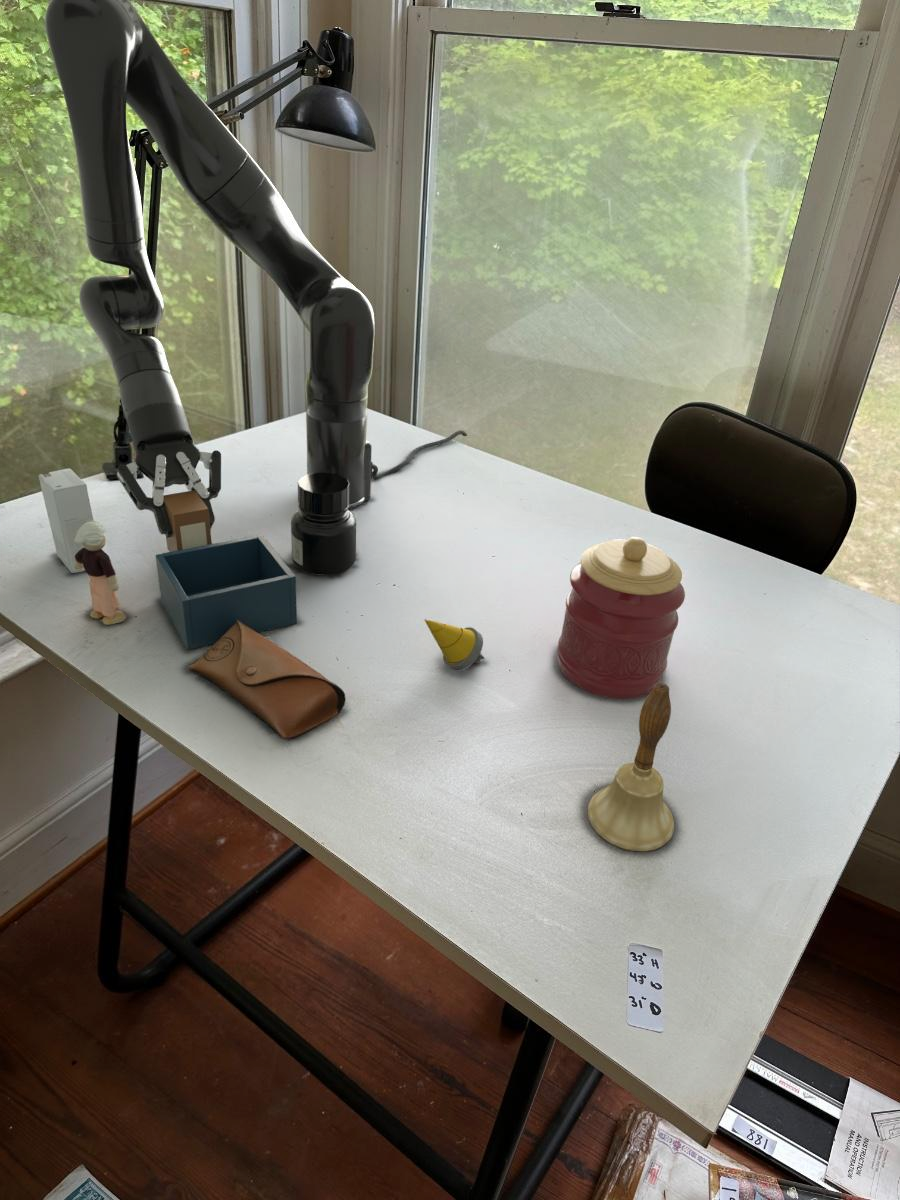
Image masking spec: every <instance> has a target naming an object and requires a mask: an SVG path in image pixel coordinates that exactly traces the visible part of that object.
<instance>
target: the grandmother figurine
mask: <svg viewBox="0 0 900 1200" xmlns="http://www.w3.org/2000/svg"><path fill="white" fill-rule="evenodd" d="M74 541H75V542H76V543H78V544H83V546H84V548H82V549H81V550H79V551H78V552H77V553H76V554H75V559H76V561H75V562H76V563H75V567H76V568H77V569H82V568H83V567H84V569H85V571H84V572H85V574H86V575H87V577H88V581H89V582H88V585H89V592H90V597H91V603H92V608H93V610H91V612H90V613H89V616H90V617H91V618H92V619H101V618H102V620H101V622H102V624H103V625H106V626H107V625H109V626H111V625H114V624H119V623H122V622H124V621H126V619H127V615H126V614H125V613H124V611H121V610H117V609H118V608H119V606H120V603H119V599H118V596H117V591H119V590H120V585H119V583H118V579H117V575H116V571H115V569H114V566H113V564H112V561H111V557H110V556H109V554H107V552H105V551H104V550H103V548H104V547H105V545H106V542H107V541H106V536H105V528H104V526H103V524H102V523H101V522H99V521H98V520H93V521H90V522H87V523H85V524H84V525H82V526H81V527H80V529H79V530H78V532H77V535H76V537H75V540H74Z"/></svg>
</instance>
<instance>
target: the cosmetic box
mask: <svg viewBox="0 0 900 1200" xmlns="http://www.w3.org/2000/svg"><path fill="white" fill-rule="evenodd" d="M38 479H39V484H40V488H41V493H42V497H43V501H44V506H45V509H46V513H47V518H48V522H49V527H50V531H51V534H52V535H51V536H52V539H53V543H54V548H55V552H56V556H57V557H58V558H59V559H60V561H61V562H62V563H63V564H64V565H65V567H66V568H67V569H68V571H69V572H70V573H71V574H76V573H82V572H85V569H84V567H83V568H82V569H77V568H76V567H75V563H76V562H75V561H76V559H75V554H76V553H77V552H78V551H79V550H81V549H82V548H84V546H83V544H78V543H76V542H75V541H74V540H75V537H76V535H77V532H78V530H79V529H80V527H81V526H82V525H84V524H85V523H87V522H90V521H94V517H93V511H92V506H91V502H90V497H89V491H88V486H87V483H86V482H85V481H83V479H81V477H80V476H79V475H78V474H76V473H75V472H74V471H73V469H71V467H69V468H63V469H59V470H55V471H54V470H53V471H49V472H44V473H40V474H38Z"/></svg>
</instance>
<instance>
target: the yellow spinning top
mask: <svg viewBox="0 0 900 1200" xmlns="http://www.w3.org/2000/svg"><path fill="white" fill-rule="evenodd" d="M424 622H425V624H426V627H428V630H429V632H430V633H431V635H432V637H433V638H434V640H435V642H436V644H437V645H438V648H439V649H440V651H441V653H442V655H443V657H442V659H443V662H444V664H445V665H446V666H447V667H448V668H450V669H451V670H453V671H455V672H460V671H464V670H466V669H467V668H470V667H471V665H473V664H474V663H475V664H476V663H477V664H481V663H482V662H481V660H484V659H486V658H485V656H484V655H483V654H482V650H483V646H484V638H483V635H482V634H481V632H479V631H477V629H475V628H474V627H469V626H467V627H464V628H462V627H460V626H459V627H458V626H455V625H451V624H447V623H443V622H439V621H435V620H430V619H427V618H425V619H424Z"/></svg>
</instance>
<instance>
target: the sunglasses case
mask: <svg viewBox="0 0 900 1200" xmlns="http://www.w3.org/2000/svg"><path fill="white" fill-rule="evenodd" d="M187 668H188V669H189V671H191V672H194V673H195V674H197V675H199V676H201V677H203V678H204V679H206V680H207V681H209V682H211V683H212V684H213V685H215V686H216V687H218V688H219V689H221V690H222V691H224V692H225V693H226V694H228V695H229V696H230V697H231V698H233V699H234V700H236V701H237V702H238V703H240V704H241V705H242V706H243V707H245V708H246V709H247V710H249V711H250V712H251V713H252V714H254V715H255V716H256V717H257V718H258V719H260V721H262V722H263V723H265V724H266V725H267V726H268V727H269V728H270V729H271V730H273V731H274V732H275V733H276V734H277V735H279V736H280V737H281V738H283V739H294V738H296V737H299V736H301V735H303V734H306V733H308V732H310V731H312V730H314V729H315V728H318V727H319V726H321V725H323V724H325V723H326V722H328V721H330V720H331V719H333V718H335V717H337V716H338V715H339V714H340V713H341V711H342V710H343V708H344V707H345V703H346V694H345V691H344V690H343V689H342V688H341V687H340V686H339V685H337V684H336V683H334V682H332V681H330V680H329V679H328V678H327V677H325V676H324V675H322V674H321V673H320V672H318V671H317V670H316V669H314V668H312V667H311V666H310V665H308V664H307V663H306V662H304V661H303V660H301V659H299V658H298V657H297V656H295V655H294V654H292V653H290V652H289V651H288V650H286V649H284V648H283V647H281V646H280V645H278V644H277V643H275V642H274V641H272V640H271V639H268V637H266V636H264V635H262V634H261V633H260V632H259V633H257V632H256V631H254V630H252V629H250V628H249V627H247V626H246V625H244V624H243V623H241V622H240V621H239V620H236V623H235V624H234V625H233V626H232V627H231V628H230V629H229V630H228V631H227V632H226V633H225V634H224V635H223V636H222V637H221V638H220V639H219V640H218V641H217V642H216V643H214V644H212V646H211V647H209V648H208V650H207V651H206V652H204V653H203V654H202V656H201V657H199V659H197V660H196V661H195V662H194V663H191V664H189V665H188V666H187Z"/></svg>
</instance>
